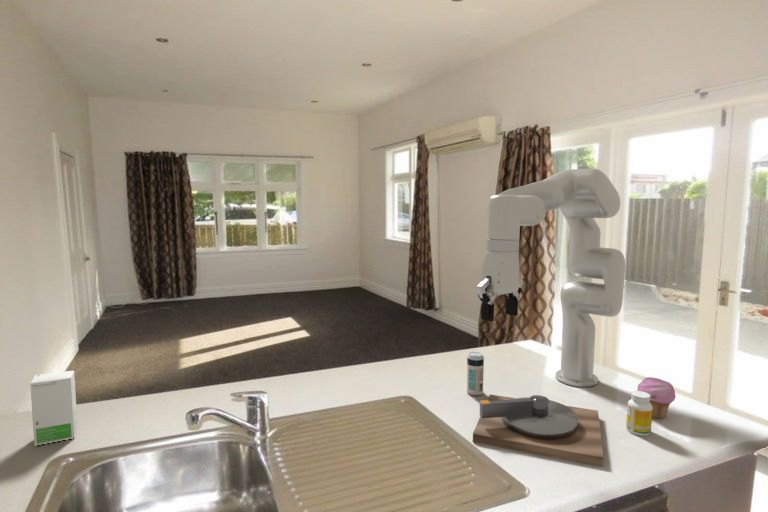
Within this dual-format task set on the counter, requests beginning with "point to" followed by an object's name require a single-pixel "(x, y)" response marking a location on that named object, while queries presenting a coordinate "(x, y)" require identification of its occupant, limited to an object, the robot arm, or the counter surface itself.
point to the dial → (533, 416)
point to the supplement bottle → (639, 414)
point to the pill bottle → (475, 373)
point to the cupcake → (658, 395)
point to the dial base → (574, 447)
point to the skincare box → (53, 407)
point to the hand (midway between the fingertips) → (499, 317)
